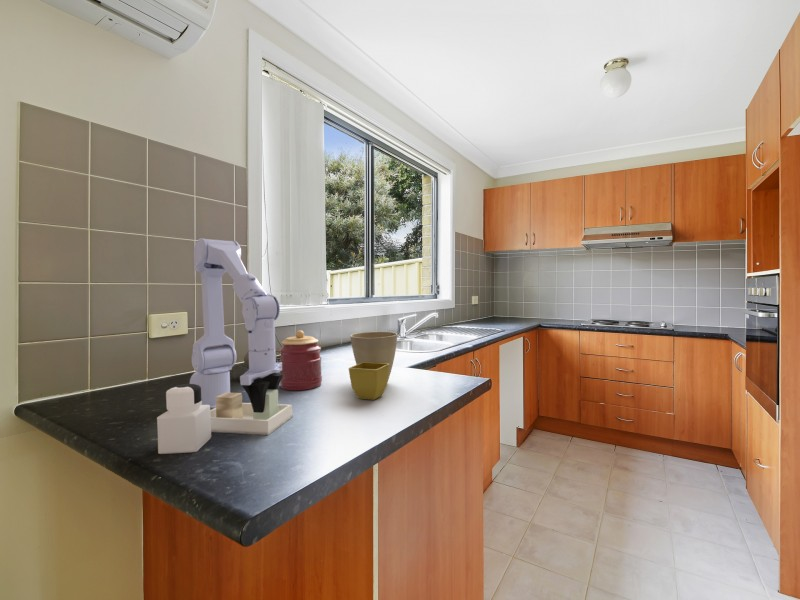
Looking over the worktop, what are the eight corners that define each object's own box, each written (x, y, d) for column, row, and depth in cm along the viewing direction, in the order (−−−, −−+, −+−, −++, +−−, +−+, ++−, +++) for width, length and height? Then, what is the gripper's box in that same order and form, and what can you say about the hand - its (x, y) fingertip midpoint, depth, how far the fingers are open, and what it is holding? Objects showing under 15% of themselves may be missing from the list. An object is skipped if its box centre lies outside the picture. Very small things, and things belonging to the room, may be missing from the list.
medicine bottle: (176, 439, 80) (173, 382, 79) (211, 438, 80) (209, 380, 80) (157, 454, 73) (154, 391, 72) (196, 452, 73) (194, 390, 73)
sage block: (253, 420, 86) (252, 393, 86) (262, 414, 90) (262, 389, 90) (269, 421, 85) (269, 394, 85) (278, 415, 89) (278, 389, 89)
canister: (317, 391, 116) (315, 332, 115) (274, 391, 116) (272, 333, 115) (325, 380, 128) (324, 327, 128) (287, 381, 129) (285, 328, 128)
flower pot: (348, 400, 105) (347, 367, 105) (363, 391, 114) (362, 361, 113) (377, 403, 102) (376, 369, 102) (390, 394, 110) (390, 363, 110)
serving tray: (195, 431, 84) (195, 417, 84) (227, 414, 95) (226, 402, 95) (268, 435, 81) (268, 420, 81) (292, 417, 92) (292, 404, 92)
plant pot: (362, 377, 131) (361, 331, 131) (404, 380, 127) (403, 331, 126) (343, 389, 117) (342, 336, 116) (389, 392, 113) (388, 338, 112)
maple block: (216, 423, 87) (215, 397, 87) (227, 417, 91) (226, 392, 91) (232, 424, 87) (231, 397, 86) (242, 418, 91) (241, 392, 90)
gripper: (261, 355, 79) (263, 420, 80) (293, 344, 93) (294, 400, 94) (230, 354, 80) (232, 419, 81) (266, 344, 95) (267, 399, 95)
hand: (263, 408), depth 87 cm, fingers closed on sage block, 4 cm apart
